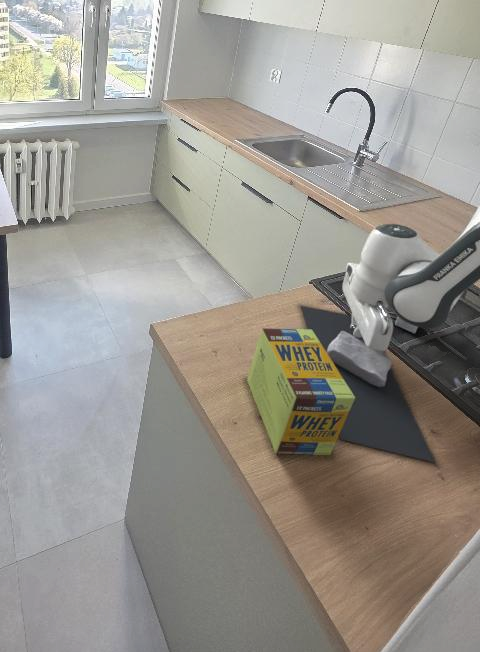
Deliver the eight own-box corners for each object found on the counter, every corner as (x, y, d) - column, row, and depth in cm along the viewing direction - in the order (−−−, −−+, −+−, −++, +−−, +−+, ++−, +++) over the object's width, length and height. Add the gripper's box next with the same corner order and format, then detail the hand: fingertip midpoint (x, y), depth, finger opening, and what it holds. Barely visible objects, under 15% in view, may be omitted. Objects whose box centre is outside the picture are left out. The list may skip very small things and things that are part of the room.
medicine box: (414, 334, 103) (427, 308, 100) (393, 324, 106) (405, 298, 102) (419, 317, 109) (431, 291, 105) (399, 308, 111) (410, 283, 108)
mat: (366, 318, 108) (367, 318, 107) (435, 463, 75) (435, 462, 75) (300, 306, 111) (300, 305, 111) (339, 439, 79) (339, 439, 79)
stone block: (333, 341, 102) (321, 358, 95) (340, 325, 101) (329, 341, 94) (388, 373, 95) (380, 394, 88) (397, 356, 93) (390, 376, 86)
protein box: (275, 456, 75) (296, 398, 69) (246, 380, 89) (260, 326, 83) (332, 456, 76) (357, 398, 69) (293, 381, 90) (312, 327, 84)
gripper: (408, 324, 84) (386, 372, 90) (373, 263, 103) (356, 306, 108) (374, 318, 86) (354, 365, 91) (345, 258, 104) (330, 301, 110)
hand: (355, 333), depth 100 cm, fingers closed
